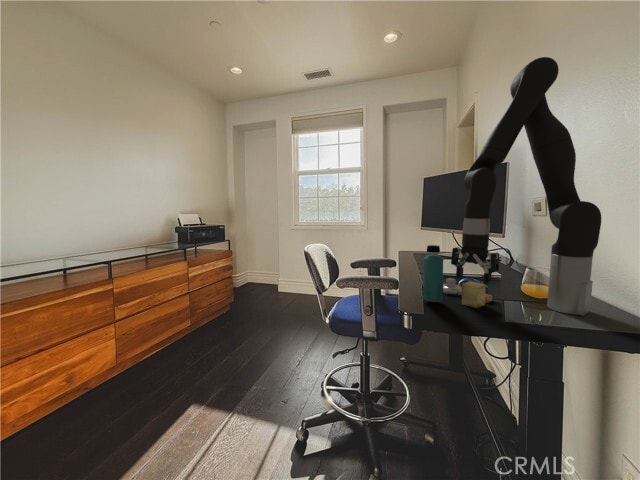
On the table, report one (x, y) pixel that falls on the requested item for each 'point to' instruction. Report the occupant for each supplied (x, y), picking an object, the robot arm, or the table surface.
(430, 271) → the beverage bottle
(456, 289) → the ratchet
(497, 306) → the table surface
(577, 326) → the table surface
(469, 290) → the beige rounded cube
